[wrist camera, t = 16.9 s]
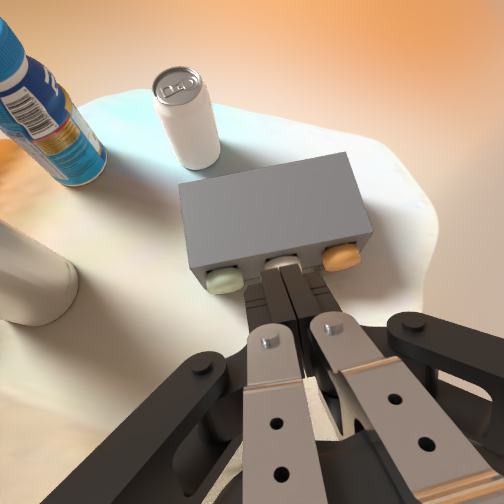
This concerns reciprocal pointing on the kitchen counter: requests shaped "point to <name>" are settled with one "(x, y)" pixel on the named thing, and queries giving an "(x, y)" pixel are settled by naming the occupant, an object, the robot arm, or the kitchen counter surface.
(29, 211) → the kitchen counter surface
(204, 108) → the can
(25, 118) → the beverage bottle
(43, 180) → the kitchen counter surface
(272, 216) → the control box
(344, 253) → the button orange
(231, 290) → the button green
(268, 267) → the button cream
